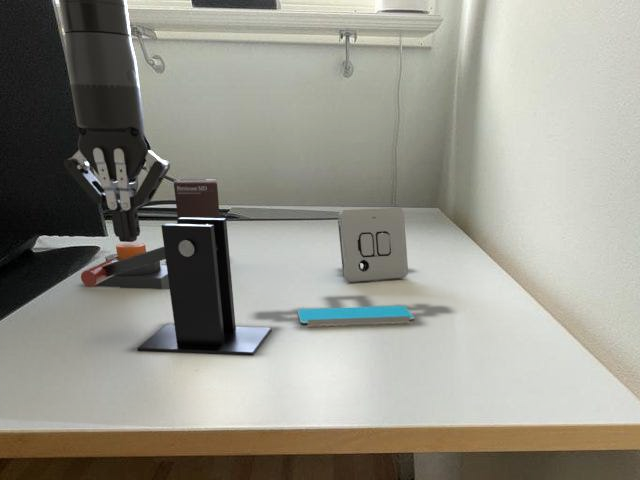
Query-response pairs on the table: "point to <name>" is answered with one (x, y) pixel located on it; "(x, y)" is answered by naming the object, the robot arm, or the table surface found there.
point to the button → (129, 250)
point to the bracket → (201, 293)
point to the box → (196, 198)
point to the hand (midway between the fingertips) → (128, 240)
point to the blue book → (355, 316)
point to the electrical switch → (373, 244)
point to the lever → (122, 266)
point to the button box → (139, 277)
